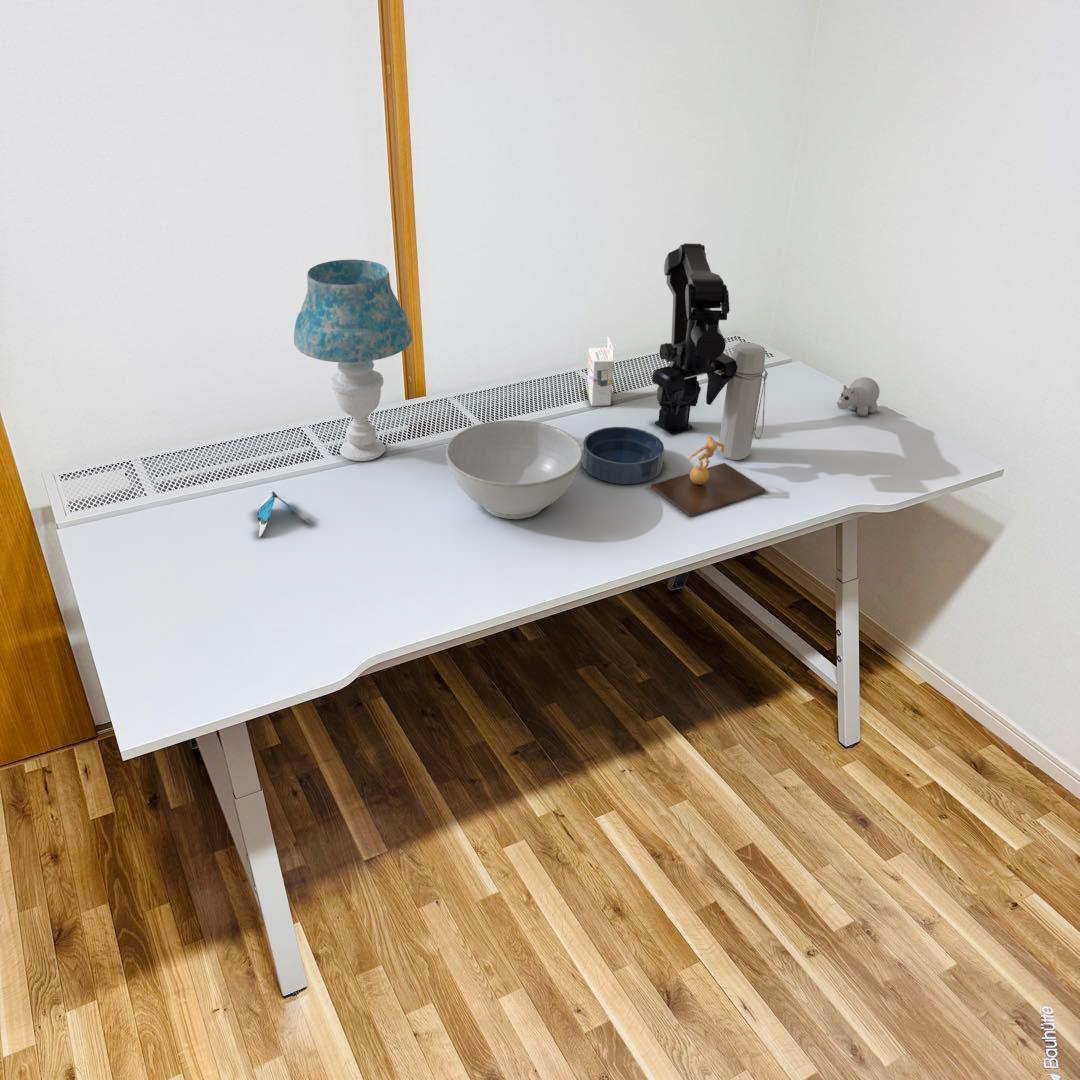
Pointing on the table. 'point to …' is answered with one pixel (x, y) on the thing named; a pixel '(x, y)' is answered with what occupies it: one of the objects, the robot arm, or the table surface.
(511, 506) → the decorative bowl
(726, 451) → the water bottle
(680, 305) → the robot arm
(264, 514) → the decorative butterfly
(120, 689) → the table surface
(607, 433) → the basin
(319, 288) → the table lamp
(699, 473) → the figurine
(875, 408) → the chubby cartoon animal
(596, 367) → the ink box
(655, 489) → the walnut board
